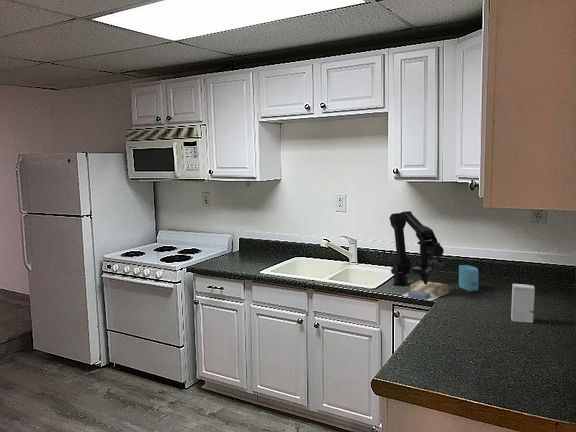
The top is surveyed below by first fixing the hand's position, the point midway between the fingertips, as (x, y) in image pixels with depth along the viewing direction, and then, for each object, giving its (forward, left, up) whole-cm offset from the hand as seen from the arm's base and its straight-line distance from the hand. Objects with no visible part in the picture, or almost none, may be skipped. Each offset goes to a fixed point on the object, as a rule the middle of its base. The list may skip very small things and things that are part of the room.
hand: (425, 284), depth 249 cm
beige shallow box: (0, +4, -5) cm, 7 cm away
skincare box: (+51, -15, -5) cm, 53 cm away
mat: (0, -6, -5) cm, 8 cm away
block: (0, -8, -3) cm, 8 cm away
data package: (+13, +22, -5) cm, 26 cm away
